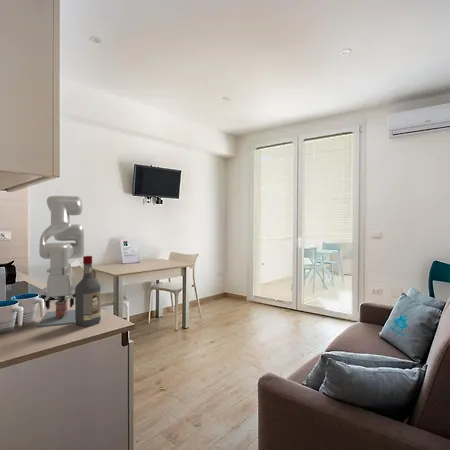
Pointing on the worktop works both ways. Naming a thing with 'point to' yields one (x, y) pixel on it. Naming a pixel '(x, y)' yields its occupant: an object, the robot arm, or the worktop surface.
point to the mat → (51, 321)
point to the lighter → (61, 307)
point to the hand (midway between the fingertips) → (59, 307)
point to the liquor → (87, 297)
